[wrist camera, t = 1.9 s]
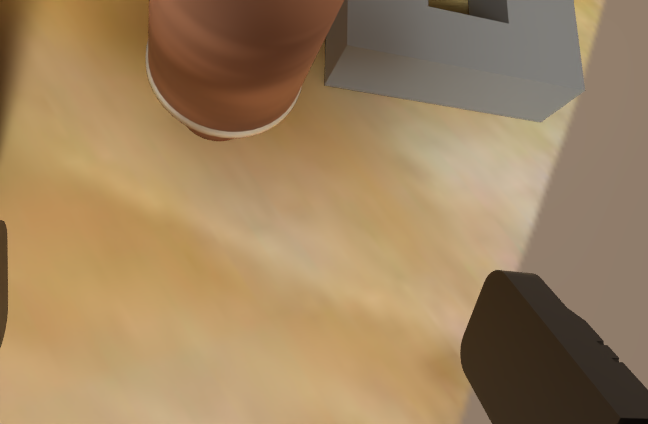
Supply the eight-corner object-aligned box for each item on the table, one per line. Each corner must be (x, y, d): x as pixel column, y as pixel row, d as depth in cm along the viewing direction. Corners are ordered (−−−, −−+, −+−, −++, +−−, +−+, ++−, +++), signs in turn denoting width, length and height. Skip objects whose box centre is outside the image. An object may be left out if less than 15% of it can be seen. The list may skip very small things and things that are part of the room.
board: (324, 85, 29) (347, 45, 26) (328, -80, 32) (349, -134, 29) (540, 122, 32) (585, 90, 29) (525, -32, 35) (563, -76, 32)
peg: (136, 160, 25) (134, 15, 16) (153, 35, 27) (160, -159, 18) (280, 178, 27) (354, 56, 18) (286, 59, 29) (355, -108, 20)
